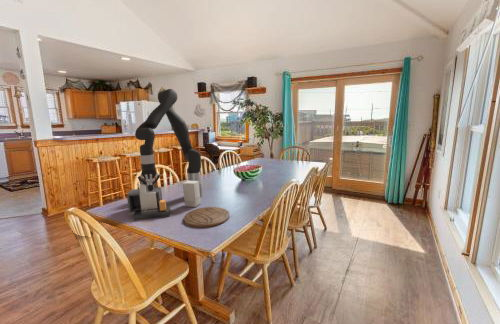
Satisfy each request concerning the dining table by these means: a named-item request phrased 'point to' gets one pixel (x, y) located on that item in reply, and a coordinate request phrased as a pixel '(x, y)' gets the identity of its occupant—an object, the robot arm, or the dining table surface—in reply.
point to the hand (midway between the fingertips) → (150, 190)
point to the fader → (162, 205)
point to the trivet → (206, 217)
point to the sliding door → (147, 198)
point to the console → (151, 213)
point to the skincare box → (191, 193)
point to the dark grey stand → (134, 199)
